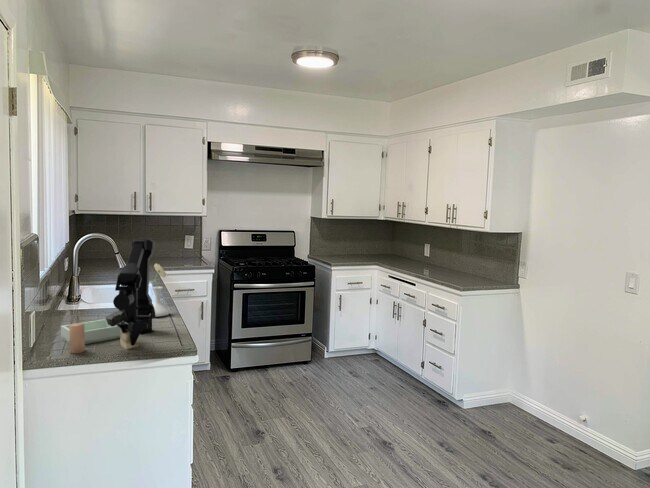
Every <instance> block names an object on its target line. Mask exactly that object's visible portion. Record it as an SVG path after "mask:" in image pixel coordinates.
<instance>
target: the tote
mask: <svg viewBox="0 0 650 488" xmlns="http://www.w3.org/2000/svg"><path fill="white" fill-rule="evenodd" d="M82 323H84V324H85V345H89V344H93V343H100V342H105V341H111V340H116V339H121V338H120V333H122V330H121V328H120V327H118V326H117V325H116V326H113V327H112V326H110V325H108V323H107V321H106V318H103V319H97V320H92V321H91V320H90V321H84V322H82ZM69 325H70V324H65V325H60V338H61V340H63V341H65V342H66V343H68V344H69V345H70V336H69Z"/></svg>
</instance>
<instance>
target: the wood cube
mask: <svg viewBox="0 0 650 488" xmlns="http://www.w3.org/2000/svg"><path fill="white" fill-rule="evenodd" d="M119 339H120V347H122V348H124V349H125V350H130V349H134V348H139V347H140V336H139V337H138V339H137V341H136V343H135V345H131V341H130V334H129V332H125V333H122V332H121V333H120V338H119Z"/></svg>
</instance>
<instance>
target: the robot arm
mask: <svg viewBox="0 0 650 488" xmlns="http://www.w3.org/2000/svg"><path fill="white" fill-rule="evenodd" d="M155 250H156V241H154V240H153V238H137V239H136V240H135V239H133V240H132V241H131V250H130V252H129V256H128V259H127V263H126V265H125V266H123V267H122V268H121V270H120V272H119V273H118V275H117V279H116V285H115V290H114V291H115V292H117V291H118V294H117V295H116V296H115V297H114V298H113V301H112V302H113V306H114V308H115V309H117V311H114V312H112V313H110V314H108V315H107V316H104V319H106V321H107V323H108V325H110V326H112V327H113V326H116V325H117V326H118V327H120V328H121V333H125V332H129V334H130V341H131V345H135V343H136V341H137V339H138V337H139V338H140V335H142V334H147V333H153V332H154V331H155V330H154V329H153V319H154V318H156V317H155V309H154V306H153V304H154V303H153V300H152V298H151V296H150V294H149V290H150V288H149V286H150V260H151V259H152V257H153V256H154V254H155Z"/></svg>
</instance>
